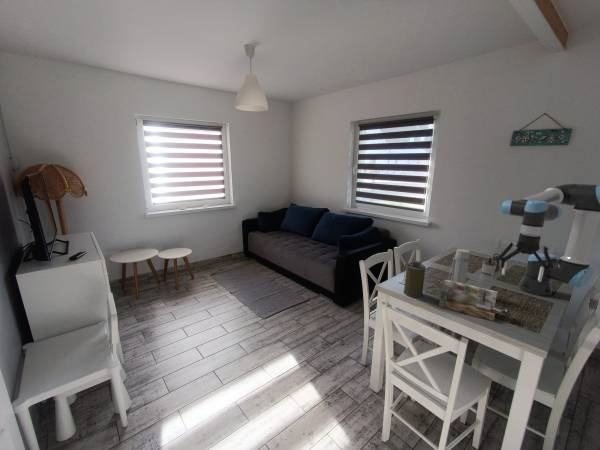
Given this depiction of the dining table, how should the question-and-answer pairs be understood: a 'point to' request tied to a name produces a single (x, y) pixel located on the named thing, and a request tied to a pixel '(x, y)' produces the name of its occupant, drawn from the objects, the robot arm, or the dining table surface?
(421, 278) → the canister
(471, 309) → the brown wooden box
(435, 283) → the dining table surface
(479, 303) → the silver block with knob
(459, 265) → the water bottle
